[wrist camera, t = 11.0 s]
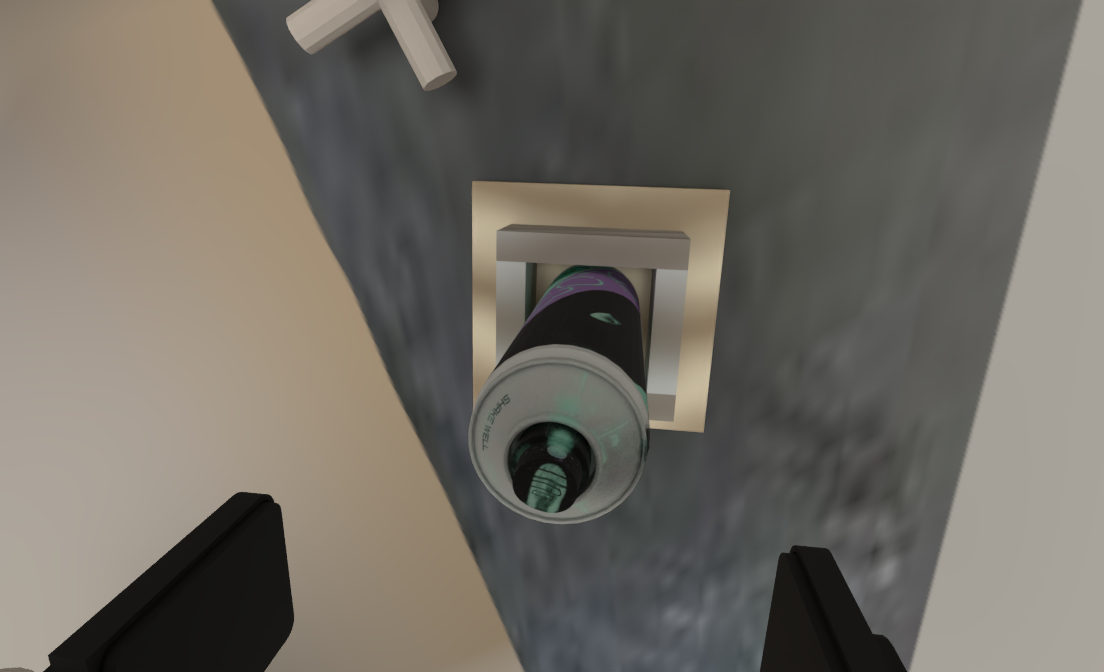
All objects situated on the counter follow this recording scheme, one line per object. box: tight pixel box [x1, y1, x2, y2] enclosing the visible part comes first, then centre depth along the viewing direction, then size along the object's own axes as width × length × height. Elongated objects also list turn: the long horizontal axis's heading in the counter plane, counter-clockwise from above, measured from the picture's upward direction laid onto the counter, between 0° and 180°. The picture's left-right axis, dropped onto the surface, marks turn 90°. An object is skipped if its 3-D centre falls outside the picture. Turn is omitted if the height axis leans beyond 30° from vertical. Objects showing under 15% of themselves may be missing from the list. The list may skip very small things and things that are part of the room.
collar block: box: [472, 181, 730, 432], centre depth 33 cm, size 14×14×5 cm
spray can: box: [468, 265, 650, 524], centre depth 25 cm, size 6×6×20 cm
